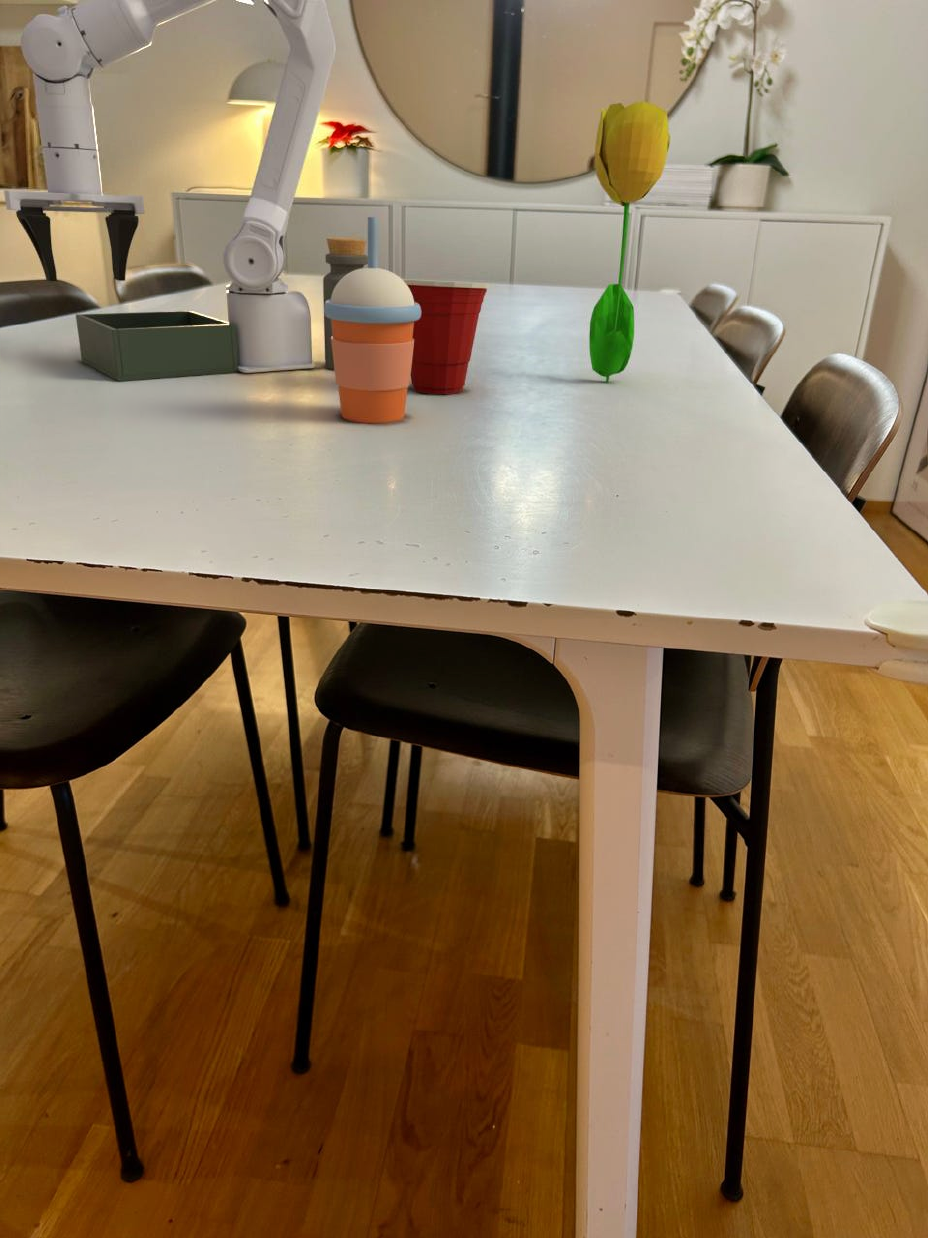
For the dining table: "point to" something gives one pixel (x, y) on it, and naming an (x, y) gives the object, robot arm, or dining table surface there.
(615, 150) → the flower
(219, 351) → the bin
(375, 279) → the cup with straw
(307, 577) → the dining table surface
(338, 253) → the bottle
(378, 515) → the dining table surface
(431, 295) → the plastic cup
